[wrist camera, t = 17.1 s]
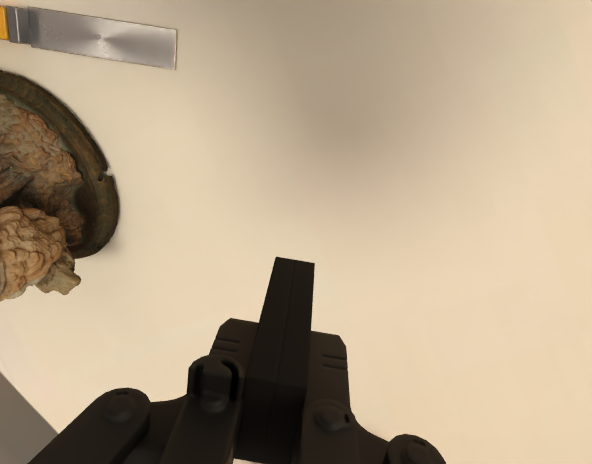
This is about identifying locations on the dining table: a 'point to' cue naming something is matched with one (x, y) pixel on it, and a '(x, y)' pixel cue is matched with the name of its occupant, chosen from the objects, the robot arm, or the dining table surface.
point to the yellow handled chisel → (89, 36)
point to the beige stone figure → (48, 191)
